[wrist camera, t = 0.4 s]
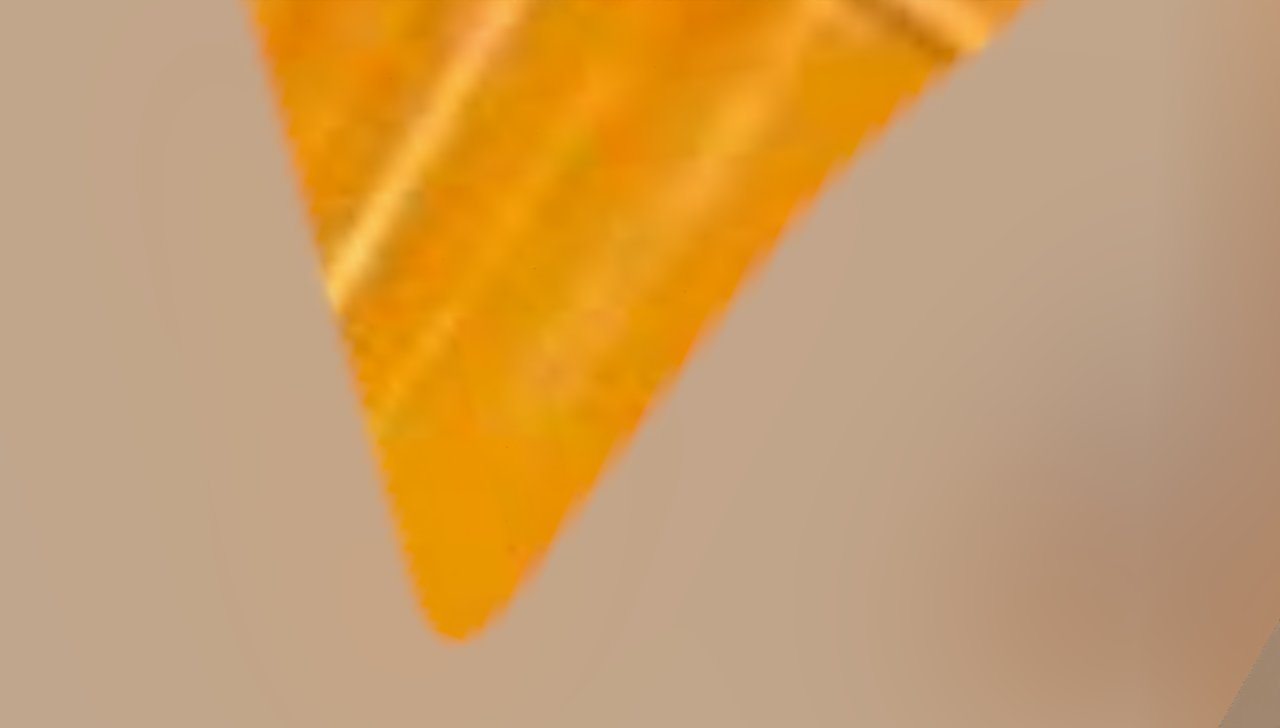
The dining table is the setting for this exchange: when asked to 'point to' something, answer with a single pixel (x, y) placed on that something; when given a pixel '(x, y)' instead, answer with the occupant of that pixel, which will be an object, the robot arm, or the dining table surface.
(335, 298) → the dining table surface
